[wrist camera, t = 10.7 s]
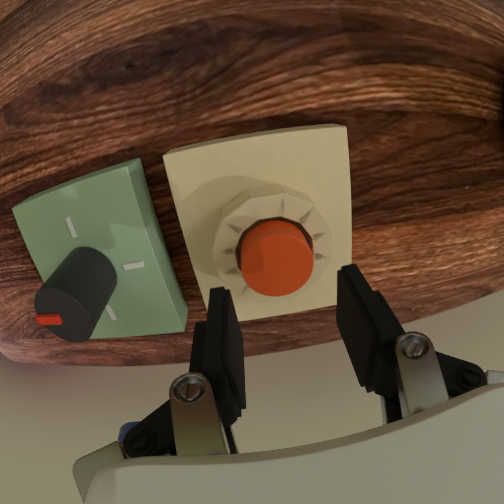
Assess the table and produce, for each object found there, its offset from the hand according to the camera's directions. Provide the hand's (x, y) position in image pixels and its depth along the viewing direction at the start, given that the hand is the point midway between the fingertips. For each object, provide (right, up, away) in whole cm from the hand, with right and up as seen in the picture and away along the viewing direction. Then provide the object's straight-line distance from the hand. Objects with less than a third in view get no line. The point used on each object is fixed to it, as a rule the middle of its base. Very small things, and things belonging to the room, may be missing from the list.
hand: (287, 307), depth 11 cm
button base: (0, +4, +7) cm, 8 cm away
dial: (-12, +1, +6) cm, 13 cm away
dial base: (-12, +2, +8) cm, 15 cm away
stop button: (0, +2, +4) cm, 5 cm away
